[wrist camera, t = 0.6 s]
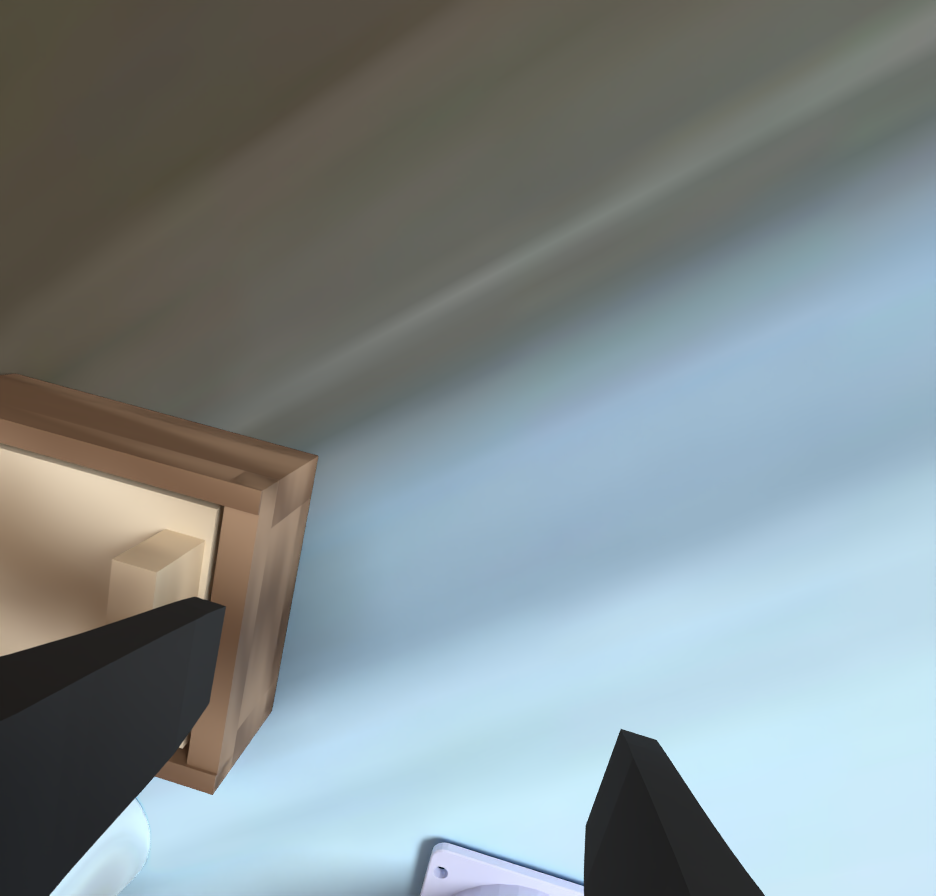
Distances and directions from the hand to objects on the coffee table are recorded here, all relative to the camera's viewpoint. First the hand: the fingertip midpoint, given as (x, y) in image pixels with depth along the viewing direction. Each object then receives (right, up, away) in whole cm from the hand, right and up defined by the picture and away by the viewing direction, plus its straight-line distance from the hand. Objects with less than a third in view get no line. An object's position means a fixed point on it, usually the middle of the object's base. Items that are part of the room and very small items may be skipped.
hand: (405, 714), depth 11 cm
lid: (-11, +1, +9) cm, 14 cm away
